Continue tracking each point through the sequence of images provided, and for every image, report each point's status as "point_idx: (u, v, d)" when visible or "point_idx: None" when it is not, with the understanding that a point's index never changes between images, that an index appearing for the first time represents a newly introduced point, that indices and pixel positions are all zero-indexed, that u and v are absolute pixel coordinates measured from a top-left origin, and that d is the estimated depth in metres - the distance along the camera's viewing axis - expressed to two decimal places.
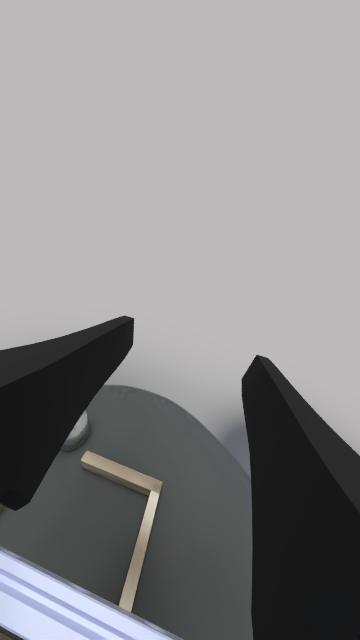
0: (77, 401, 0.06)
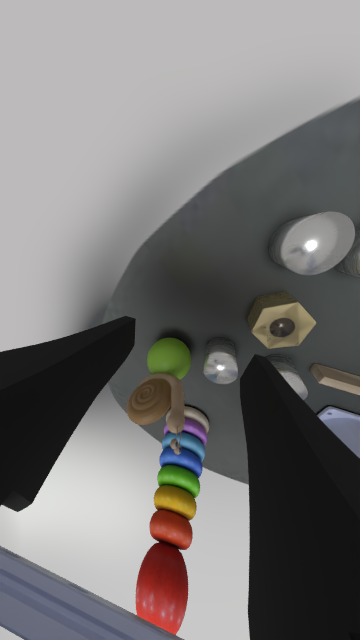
0: (79, 402, 0.06)
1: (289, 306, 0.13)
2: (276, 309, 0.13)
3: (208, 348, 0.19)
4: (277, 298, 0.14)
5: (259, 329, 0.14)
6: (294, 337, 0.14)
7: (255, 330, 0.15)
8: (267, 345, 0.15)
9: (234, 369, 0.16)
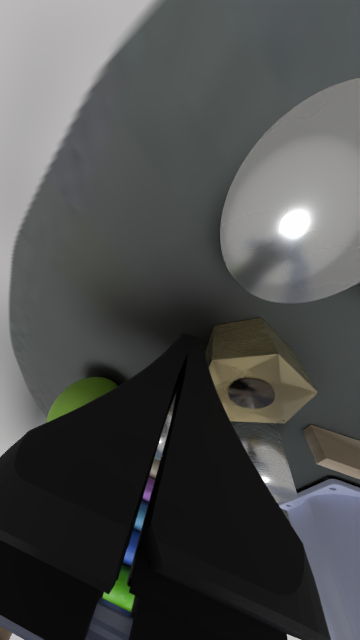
0: (161, 432, 0.06)
1: (261, 360, 0.06)
2: (236, 363, 0.06)
3: None
4: (244, 334, 0.08)
5: None
6: (275, 411, 0.07)
7: None
8: None
9: None
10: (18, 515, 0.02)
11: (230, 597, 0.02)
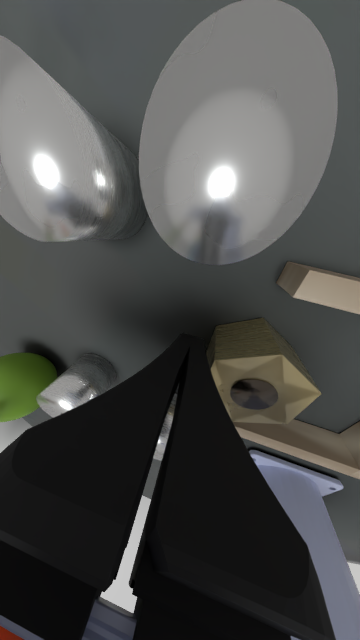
0: (160, 432, 0.06)
1: (264, 360, 0.06)
2: (239, 364, 0.06)
3: None
4: (246, 335, 0.07)
5: None
6: (278, 412, 0.07)
7: None
8: (230, 417, 0.08)
9: (71, 408, 0.10)
10: (15, 513, 0.02)
11: (236, 600, 0.02)
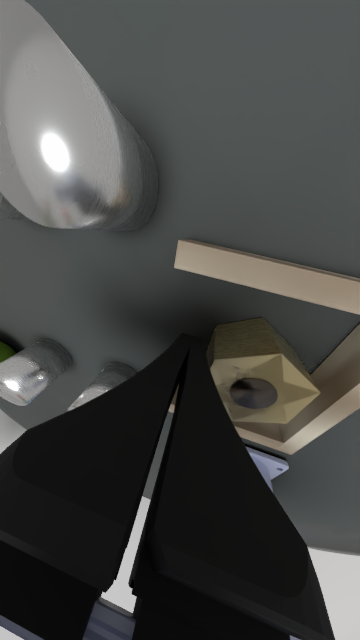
0: (160, 432, 0.06)
1: (264, 360, 0.06)
2: (238, 363, 0.06)
3: None
4: (246, 334, 0.07)
5: None
6: (277, 411, 0.07)
7: None
8: (230, 417, 0.08)
9: (13, 386, 0.11)
10: (15, 514, 0.02)
11: (234, 600, 0.02)
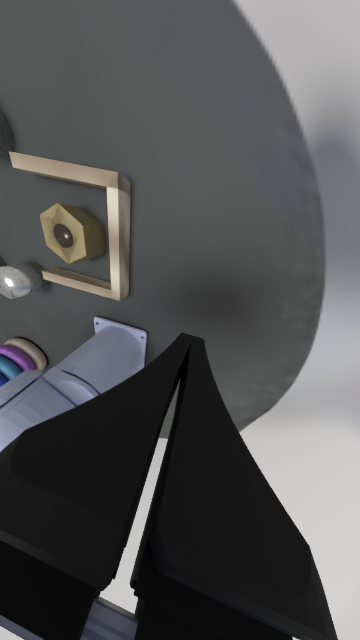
0: (159, 432, 0.06)
1: (54, 209, 0.13)
2: (48, 214, 0.14)
3: None
4: None
5: (50, 241, 0.15)
6: (78, 246, 0.15)
7: (48, 243, 0.15)
8: (65, 260, 0.16)
9: None
10: (13, 513, 0.02)
11: (238, 601, 0.02)
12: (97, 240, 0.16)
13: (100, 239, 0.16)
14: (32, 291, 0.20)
